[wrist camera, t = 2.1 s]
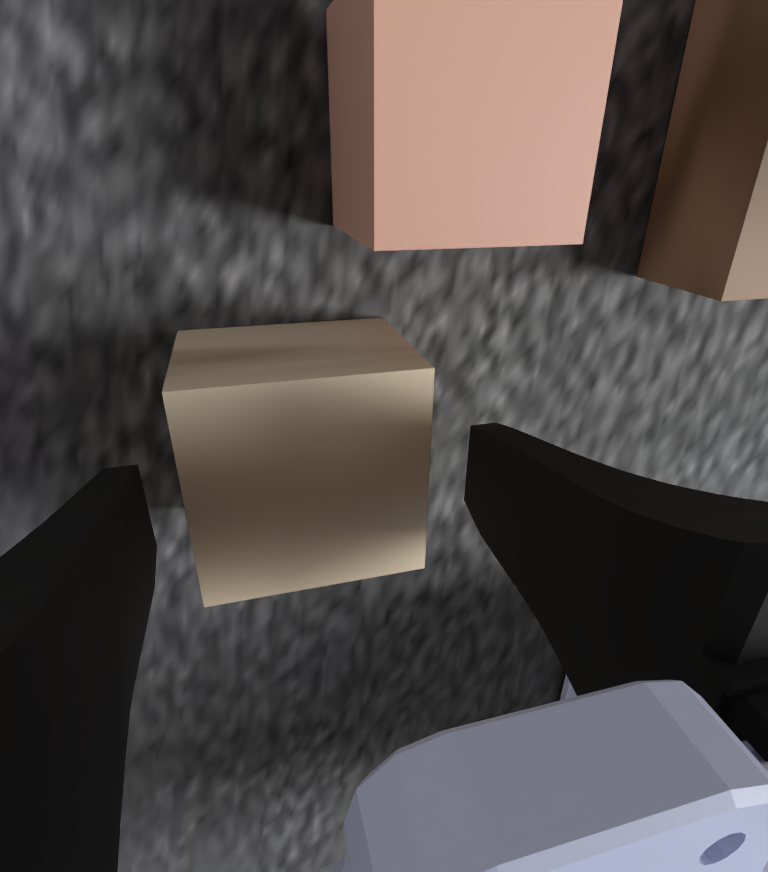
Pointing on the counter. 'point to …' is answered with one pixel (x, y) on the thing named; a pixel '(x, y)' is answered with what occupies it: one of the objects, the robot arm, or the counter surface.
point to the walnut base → (715, 161)
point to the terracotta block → (466, 119)
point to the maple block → (300, 454)
